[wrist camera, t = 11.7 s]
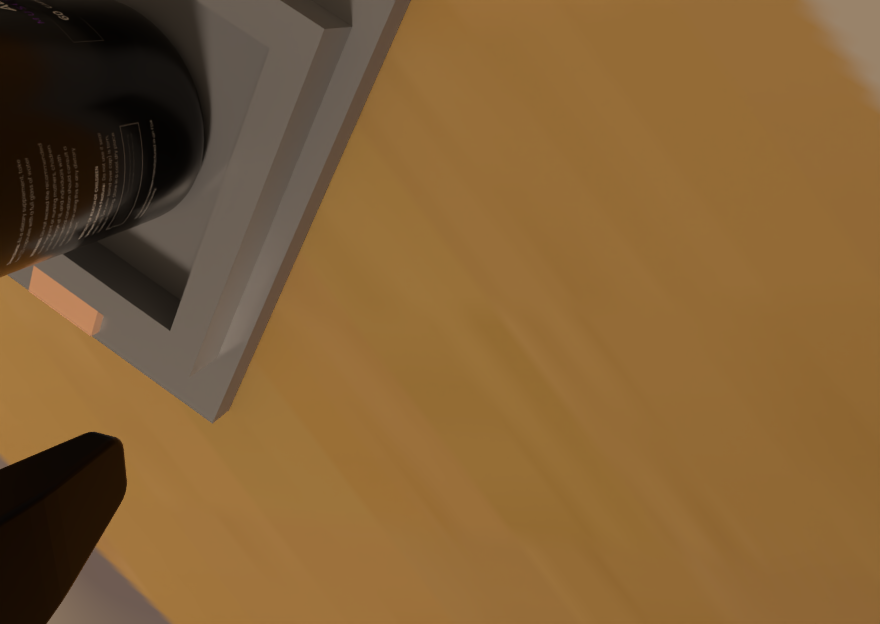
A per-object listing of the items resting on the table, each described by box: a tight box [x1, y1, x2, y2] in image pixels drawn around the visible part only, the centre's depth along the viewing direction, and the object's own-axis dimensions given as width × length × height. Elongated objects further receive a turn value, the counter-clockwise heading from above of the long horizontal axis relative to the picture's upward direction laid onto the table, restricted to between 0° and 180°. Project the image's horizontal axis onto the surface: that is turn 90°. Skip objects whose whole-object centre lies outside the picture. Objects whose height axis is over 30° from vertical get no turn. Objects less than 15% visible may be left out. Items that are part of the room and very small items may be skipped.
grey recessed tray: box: [8, 0, 411, 423], centre depth 22 cm, size 14×18×2 cm
